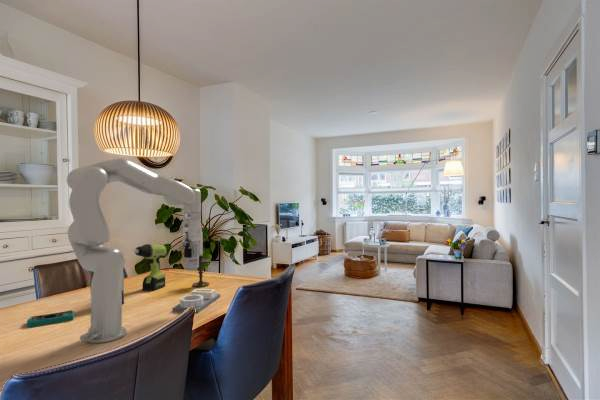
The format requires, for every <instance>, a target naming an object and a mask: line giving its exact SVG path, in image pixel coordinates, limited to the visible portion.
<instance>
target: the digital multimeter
mask: <svg viewBox="0 0 600 400" xmlns="http://www.w3.org/2000/svg"><path fill="white" fill-rule="evenodd" d="M74 319H75V312H74V310H66V311H65V310H64V311H60V312H54V313H49V314H48V313H46V314H42V315H34V316H30V318H28V319H27V321H26V326H27V328H28V329H31V328H35V327H40V326H41V327H42V326H46V325H52V324H59V323H65V322H70V321H74Z"/></svg>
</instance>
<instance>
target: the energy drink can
mask: <svg viewBox="0 0 600 400" xmlns="http://www.w3.org/2000/svg"><path fill="white" fill-rule="evenodd" d="M187 241H190V240H187ZM188 244H189V243H188ZM191 248H192V257H191V258H185V257H184V269H185V270H186V271H196V270H198V268H200V265H199V239H197V241H195V242H192V244H191Z"/></svg>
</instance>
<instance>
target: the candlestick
mask: <svg viewBox="0 0 600 400" xmlns="http://www.w3.org/2000/svg"><path fill="white" fill-rule="evenodd" d="M201 227H202V228H203V224H201ZM203 243H204V242H203V231H202V239H201V240H200V242H199V271H198V272H197V273H198V278H199V281H198V282H193V283H192V287H193V288H206V287H208V286H210V282H208V281H203V277H204V276H203V274H204V271H203V265H204V264H208V263H211V262H212V261H211V258H203V257H204V256H205V254H204V253H203V246H204V245H203ZM203 254H204V255H203Z"/></svg>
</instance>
